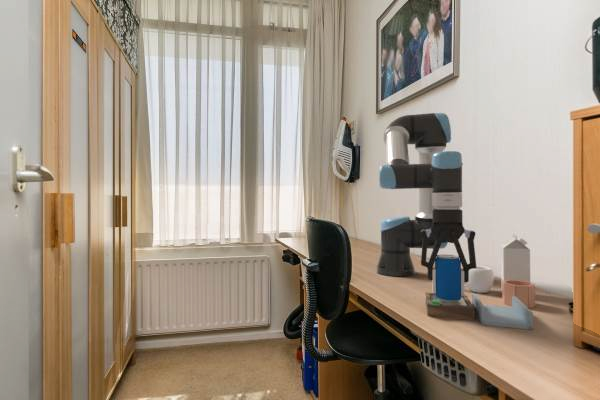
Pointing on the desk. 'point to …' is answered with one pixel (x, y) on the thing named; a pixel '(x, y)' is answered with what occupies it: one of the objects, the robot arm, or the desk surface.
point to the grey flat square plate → (460, 302)
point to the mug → (480, 279)
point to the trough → (504, 314)
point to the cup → (518, 292)
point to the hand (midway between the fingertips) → (447, 292)
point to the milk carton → (515, 260)
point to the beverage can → (448, 278)
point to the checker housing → (449, 309)
